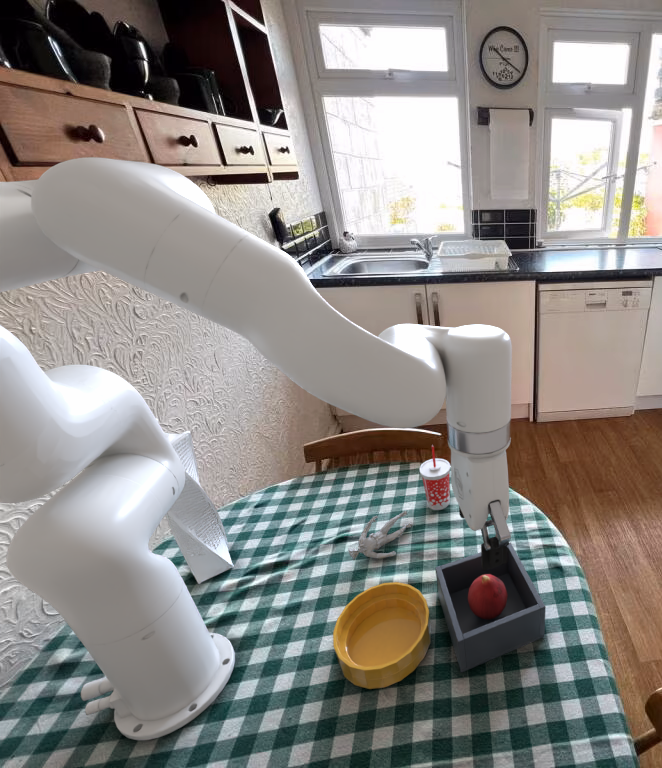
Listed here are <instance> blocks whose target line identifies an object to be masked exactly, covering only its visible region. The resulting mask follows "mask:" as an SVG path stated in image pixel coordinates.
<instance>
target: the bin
mask: <svg viewBox="0 0 662 768" xmlns="http://www.w3.org/2000/svg"><path fill="white" fill-rule="evenodd" d="M434 569H435V577H436V585H437V593H438V599H439V602H440V606H441V609H442V612H443V616H444V619H445V623H446V626H447V631H448V634H449V636H450V640H451V643H452V647H453V650H454V654H455V657H456V660H457V661H456V662H457V664H458V668H459V671H460V673H464V672H466V671H469V670H471V669H473V668H475V667H478V666H480V665H483V664H485V663H488V662H489V661H492V660H495V659H496V658H499V657H501V656H503V655H506V654H508V653H510V652H513V651H515V650H517V649H520V648H522V647H524V646H526V645H529V644H532V643H534V642H536V641H538V640H541V639H542V638H545V629H546V627H545V626H546V625H545V624H546V605H545V603H544V601H543V599H542V597H541V596H540V594H539V592H538V590H537V588H536V586H535V584H534V583H533V581H532V579H531V577H530V575H529V574H528V572H527V570H526V568H525V567H524V565H523V563H522V561H521V558H520V557H519V555H518V553H517V551H516V550H515V548H514V546H513V544H512V542H511V541H510V542H509V545H507V562H506V563H505V564H503V565H500V566H498V567H494V568H491V569H487V570H483V568H482V563H481V551H480V552H477V553H474V554H471V555H468V556H465V557H462V558H459V559H456V560H453V561H450V562H448V563H444V564H442V565H438V566H436V567H435V568H434ZM485 574H491V575H493V576H495V577H497V578H498V579H500V580H501V581H502V582H503V583H504V585H505V588H506V591H507V595H508V596H507V602H506V607H505V608H504V610H503V611H502V613H501V614H500V615H498V616H497V617H495V618H493V619H489V620H487V619H482V618H480V617H478V616H477V615H475V614H474V613H473V612H472V610H471V609H470V606H469V602H468V593H469V588H470V586H471V585H472V583H473V581H474V580H475V579H477V578H478V577H480V576H482V575H485Z"/></svg>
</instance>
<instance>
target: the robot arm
mask: <svg viewBox="0 0 662 768" xmlns="http://www.w3.org/2000/svg"><path fill="white" fill-rule="evenodd" d="M101 271H102V272H103V273H106V274H108V275H110V276H112V277H115V278H116V279H119V280H121V281H123V282H125V283H127V284H130V285H132V286H134V287H136V288H138V289H141V290H143V291H144V292H147V293H149V294H152V295H154V296H156V297H158V298H160V299H163V300H164V301H167V302H169V303H171V304H174V305H176V306H178V307H180V308H183V309H185V310H187V311H189V312H191V313H193V314H196V315H198V316H200V317H202V318H204V319H207V320H208V321H209V322H210V321H211V322H213V323H214V324H217V325H219V326H222V327H224V328H226V329H228V330H230V331H232V332H234V333H236V334H238V335H240V336H242V337H243V338H245V339H246V340H247V341H248V342H249V343H250V344H251V345H252V346H253V347H254V348H255V349H256V350H257V351H258V353H259V354H260V355H261V356H262V357H263V358H265V359H266V360H267V361H268V362H269V363H270V364H272V365H273V366H274V367H275V368H277V369H278V371H280V372H281V373H282V374H284V376H286V377H287V378H288V379H289V380H290V381H292V382H293V383H294V384H295V385H297V386H298V387H299V388H301V389H302V390H304V391H306V392H307V393H309V394H310V395H312V396H313V397H315V398H317V399H318V400H320V401H323V402H325V403H327V404H329V405H331V406H333V407H336V408H338V409H340V410H343V411H344V412H347V413H349V414H351V415H354V416H357V417H359V418H361V419H364V420H366V421H369V422H372V423H374V424H377V425H380V426H384V427H388V428H393V429H413V428H417V427H420V426H423V425H425V424H427V423H429V422H430V421H432V420H433V419H434V418H435V417H436V416H437V415H438V413H440V411H441V410H442V407H443V405H444V404H445V411H446V412H445V415H446V435H447V444H448V447H449V449H450V484H451V490H452V492H453V495H454V498H455V500H456V503H457V504H458V513H459V514H458V515H459V517H460V518H461V519H464V520H465V522H466V524H467V526H468V528H469V529H470V530H472V531H473V532H477V531H480V533H481V538H482V542H483V543H481V544H480V552H481V563H482V568H483V570H487V569H491V568H494V567H498V566H500V565H503V564H505V563H506V562H507V545H509V543H510V542H511V538H512V535H511V531H510V529H509V526H508V523H507V520H508V518H509V513H510V483H509V481H510V480H509V470H508V458H507V457H508V456H507V449H508V448H510V445H511V439H512V436H511V433H512V377H513V376H512V374H513V373H512V371H513V370H512V368H513V367H512V366H513V344H512V340H511V337H510V335H509V334H508V333H507V332H506V331H505V330H504V329H502V328H500V327H497V326H493V325H489V324H468V325H461V326H457V327H445V326H435V325H434V326H433V325H425V324H415V323H401V324H395V325H392V326H389V327H387V328H385V329H383V330H382V331H381V332H380V333H379V334H378V335H375V334H373V333H372V332H369V331H367V330H366V329H364V328H363V327H361V326H359V325H358V324H356V323H355V322H353V321H351V320H350V319H348V318H347V317H346V316H344V315H343V314H341V313H340V312H339V311H338V310H336V309H335V308H334V307H333V306H332V305H330V304H329V303H328V302H327V301H326V300H325V299H324V298H323V297H322V295H321V294H320V293H319V292H318V291H317V290H316V288H315V287H314V286H313V284H312V283H311V280H310V279H309V277H308V275H307V274H306V272H305V271H304V269H303V268H302V266H301V265H300V263H298V262H297V260H295V259H294V258H293V257H292V256H291V255H289V254H288V253H287V252H285V251H284V250H282V249H280V248H278V247H277V246H274V245H273V244H271V243H269V242H268V241H266V240H264V239H262V238H260V237H259V236H257V235H255V234H252V233H251V232H250V231H247V230H246V229H244V228H242V227H240V226H238V225H237V224H235V223H234V222H232V221H229V220H228V219H226V218H224V217H222V216H221V215H219V214H217V213H216V211H215V208H214V206H213V204H212V202H211V200H210V199H209V198H208V196H207V195H206V194H205V193H204V191H203V190H202V189H201V188H200V187H199V186H198V185H197V184H196V183H194V182H193V181H192V180H191V179H190V178H188V177H187V176H185V175H183V174H181V173H180V172H178V171H176V170H173V169H171V168H170V167H166V166H164V165H160V164H155V163H150V162H145V161H144V162H143V161H136V160H135V161H133V160H126V159H125V160H124V159H116V158H108V157H96V156H95V157H93V156H90V157H89V156H88V157H78V158H71V159H68V160H65V161H61V162H59V163H57V164H55V165H53V166H51V167H49V168H48V169H47V170H45V171H44V172H43V173H42V174H41V175H40V177H39V178H38V179H31V180H30V179H29V180H18V181H0V293H4V292H9V291H13V290H18V289H21V288H27V287H29V286H30V287H31V286H34V285H37V284H42V283H45V282H50V281H54V280H58V279H63V278H67V277H72V276H77V275H83V274H89V273H93V272H101ZM150 408H151V407H150V406H149V405H148V403H147V402H146V400H145V399H144V397H143V396H142V395H141V393H140V392H139V391H138V389H136V388H135V387H134V386H133V385H132V384H131V383H130V382H129V381H127V380H126V379H125V378H123V377H121V376H120V375H118V374H116V373H115V372H113V371H110V370H108V369H106V368H103V367H100V366H96V365H91V364H81V363H80V364H78V363H77V364H66V365H60V366H57V367H53V368H50V369H47V370H45V371H44V370H43V369H42V367H40V365H39V364H38V363H37V361H36V359H35V357H34V356H33V355H32V353H31V351H30V350H29V349H28V347H27V346H26V345H25V344H24V343H23V342H22V341H21V340H20V339H19V338H18V337H17V336H16V335H14V334H13V333H12V332H11V331H10V330H8V329H7V328H5V327H4V326H2V324H0V503H1V504H20V503H25V502H29V501H33V500H37V499H39V498H42V497H44V496H46V495H49V494H50V493H52V492H54V491H55V490H57V489H59V488H60V487H62V488H60V489H59V490H58V491H56V493H55V494H53V496H51V497H50V498H49V499H47V501H45V502H44V503H43V504H42V505H41V506H40V507H38V508H37V509H36V510H35V511H34V512H33V513H32V514H31V515H30V516H28V518H27V519H26V520H25V521H24V522H23V523H22V524H21V526H20V527H19V528H18V529H17V530H16V532H15V534H14V536H13V537H12V539H11V540H10V542H9V544H8V547H7V551H6V557H5V559H6V560H5V561H6V566H7V570H8V571H9V573H10V574H11V575H12V577H14V579H15V580H16V581H18V583H20V584H21V585H23V586H24V587H25V588H27V589H28V590H30V591H31V592H32V593H34V594H35V595H36V596H38V597H40V598H41V599H42V600H44V601H45V602H46V603H47V604H48V605H50V606H51V607H52V608H53V609H54V610H55V611H56V613H58V614H59V615H60V616H61V618H62V619H63V620H64V621H65V623H66V624H67V625H68V626H69V628H70V629H71V631H72V632H73V633H74V635H75V636H76V638H77V639H78V640H79V641H80V643H81V644H82V645H83V646H84V648H85V649H86V651H87V652H88V654H89V655H90V656H91V658H92V659H93V661H94V662H95V663H96V665H97V666H98V668H99V669H100V671H102V673H103V675H104V677H100V678H98V679H95V680H91V681H89V682H86V683H84V684H83V686H82V687H81V690H80V698H81V700H82V701H83V702H86V701H88V702H87V703H86V705H85V709H84V713H85V716H90V715H94V714H96V713H100V712H102V711H103V710H106V709H108V708H110V709H111V710H114V711H113V716H114V717H113V718H114V723H115V726H116V728H117V730H118V731H119V732H120V733H121V735H122V736H125V738H127V739H131V740H134V741H150V740H153V739H159V738H161V737H163V736H166V735H169V734H171V733H173V732H175V731H177V730H178V729H181V728H182V727H184V726H186V725H187V724H189V723H190V722H192V721H193V720H194V719H196V718H197V717H198V716H200V714H202V713H203V712H204V711H205V710H206V709H208V707H209V706H210V705H211V704H212V703H213V702H214V701H215V700H216V699H217V697H218V696H219V695H220V694H221V693H222V691H223V690H224V689H225V687H226V685H227V683H228V682H229V680H230V678H231V676H232V673H233V670H234V667H235V663H236V652H235V650H234V649H235V648H234V647H233V645H232V642H231V641H230V639H228V638H227V637H226V636H224V635H222V634H220V633H217V632H216V633H215V632H210V631H209V630H208V628H207V625H206V623H205V621H204V619H203V617H202V615H201V613H200V611H199V609H198V607H197V605H196V602H195V601H194V599H193V597H192V595H191V593H190V591H189V589H188V587H187V585H186V583H185V581H184V579H183V577H182V576H181V574H180V572H179V570H178V568H177V566H176V565H175V564H174V563H173V561H171V560H170V559H169V557H166V556H164V555H161V554H157V553H154V552H152V550H150V547H149V542H150V540H151V537H152V535H153V533H155V532H156V529H157V528H159V526H160V524H161V522H162V520H163V519H164V517H166V516H165V515H166V513H167V512H168V511H169V509H170V508H171V507H172V505H173V504H174V503H175V501H176V500H177V498H178V497H179V495H180V494H181V492H182V490H183V487H184V484H185V471H184V468H183V465H182V462H181V460H180V458H179V456H178V455H177V453H176V451H175V450H174V448H173V446H172V445H171V443H170V441H169V440H168V438H167V436H166V435H165V433H164V432H165V431H164V430H163V428H162V426H161V425H160V422H159V423H158V421H159V420H158V421H157V420H156V418H157V417H156V416H155V415H154V413H153V411H152V410H151V409H150ZM489 516H490V519H489V520H488V518H489ZM489 527H493V528H494V531H495V535H494V536H493V537H490V536H489V531H488V528H489ZM110 692H111V694H110V695H108V696H105V697H101V698H98V699H94V698H97V697H100V696H103V695H105V694H107V693H110ZM92 699H94V700H92ZM89 700H92V701H89Z"/></svg>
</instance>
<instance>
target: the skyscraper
mask: <svg viewBox="0 0 662 768" xmlns="http://www.w3.org/2000/svg"><path fill="white" fill-rule="evenodd" d="M155 418H156V420H157V421H158V423H159V424H160V421H159V418H157V417H155ZM164 433H165V435H166V436H167V438H168V440H169V441H170V443H171V445H172V446H173V448H174V450H175V451H176V453H177V455H178V456H179V458H180V460H181V462H182V465H183V468H184V471H185V484H184V487H183V490H182V492H181V494H180V495H179V497H178V498H177V500H176V501H175V503H174V504H173V505H172V507H171V508H170V509H169V511H168V512H167V513H166V515H165V516H164V517H165V518H166V521H167V523H168V527H169V529H170V531H171V533H172V536H173V538H174V540H175V542H176V544H177V547H178V549H179V550H180V552H181V555H182V556H183V558H184V560H185V563H186V564H187V566H188V568H189V569H190V571H191V573H192V575H193V577H194V579H195V580H196V583H197V584H198V585H200V584H202V583H203V582H205V581H208V580H210V579H211V578H213V577H216V576H218V575H220V574H222V573H224V572H226V571H228V570H231V569H234V568H235V565H234V564H233V561H232V558H231V555H230V552H229V550H230V546H229V541H228V538H227V534H226V533H227V532H226V530H225V527H224V524H223V521H222V519H221V516H220V514H219V512H218V509H217V508H216V506H215V504H214V503H213V501H212V499H211V498H210V497H209V495H208V494H207V493H206V491H205V490H204V488H203V487H202V486H201V482H200V477H199V469H198V468H199V467H198V462H197V456H196V451H195V446H194V442H193V437H192V433H191V431H190V430H185V431H184V432H183V431H182V433H169V432H165V431H164Z"/></svg>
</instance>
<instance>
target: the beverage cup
mask: <svg viewBox="0 0 662 768" xmlns="http://www.w3.org/2000/svg"><path fill="white" fill-rule="evenodd" d="M435 453H436V452H435V446H434V445H431V455H432V458H431V459H428V460H425V461H424V462H423V463H421V464H420V466H419V475H420V476H421V479H422V483H423V488H424V489H423V490H424V493H425V498H426V499H425V500H426V505H427V506H428V508H429V509H430V510H432V511H441V510H444V509H446V508H447V507H448V506H449V505H450V503H451V495H450V494H451V490H450V489H451V487H450V484H451V483H450V473H451V462H449V461H448V460H446V459H444V458H438V457H437V458H436V454H435Z"/></svg>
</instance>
